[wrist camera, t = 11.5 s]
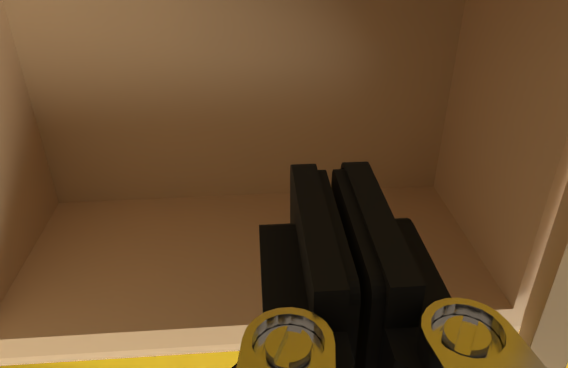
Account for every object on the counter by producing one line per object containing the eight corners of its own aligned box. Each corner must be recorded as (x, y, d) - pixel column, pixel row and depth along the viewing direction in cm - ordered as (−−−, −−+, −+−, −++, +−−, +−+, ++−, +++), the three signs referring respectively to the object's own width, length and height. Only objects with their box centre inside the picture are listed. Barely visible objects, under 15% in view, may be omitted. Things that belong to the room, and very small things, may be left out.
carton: (504, -121, 17) (687, -128, 10) (442, 206, 23) (527, 337, 17) (-52, -118, 16) (-281, -124, 9) (50, 224, 22) (-34, 372, 15)
